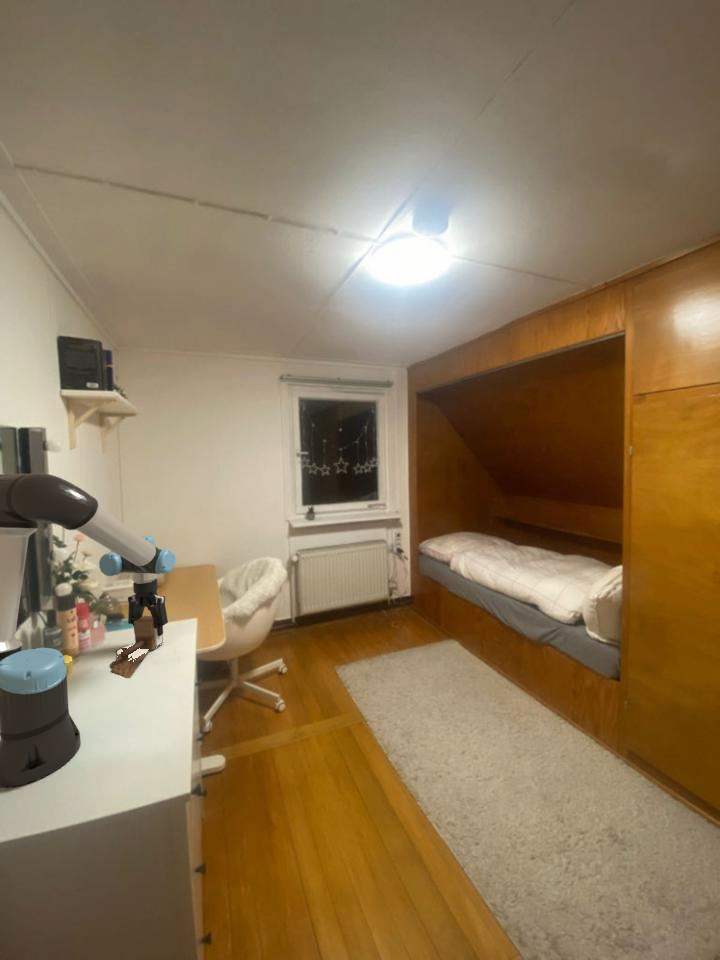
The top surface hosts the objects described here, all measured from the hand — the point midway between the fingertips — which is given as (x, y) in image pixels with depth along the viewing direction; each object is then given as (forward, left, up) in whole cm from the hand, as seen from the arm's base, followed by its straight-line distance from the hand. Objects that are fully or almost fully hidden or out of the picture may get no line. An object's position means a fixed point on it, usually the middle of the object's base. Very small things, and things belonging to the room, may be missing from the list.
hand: (149, 643), depth 137 cm
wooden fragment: (-9, 0, -2) cm, 9 cm away
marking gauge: (-4, 0, -1) cm, 5 cm away
